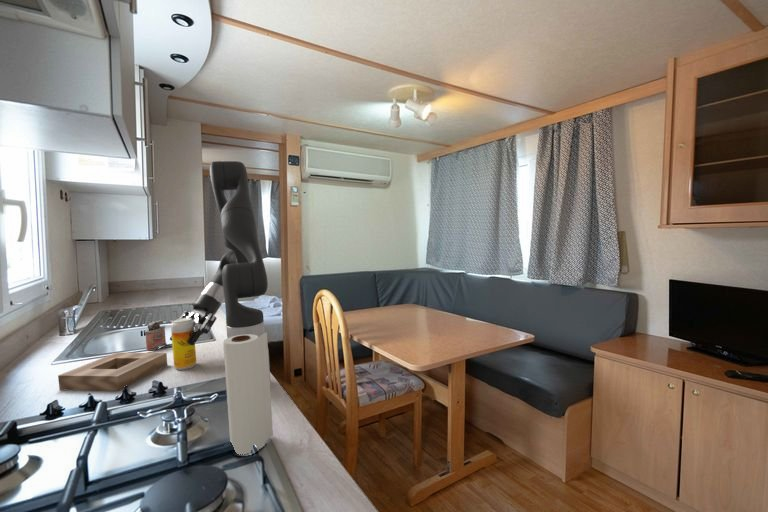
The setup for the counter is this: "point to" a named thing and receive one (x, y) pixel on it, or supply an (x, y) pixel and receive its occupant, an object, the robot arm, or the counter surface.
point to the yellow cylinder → (183, 343)
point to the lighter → (155, 336)
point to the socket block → (112, 371)
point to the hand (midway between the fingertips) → (180, 342)
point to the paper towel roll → (248, 391)
